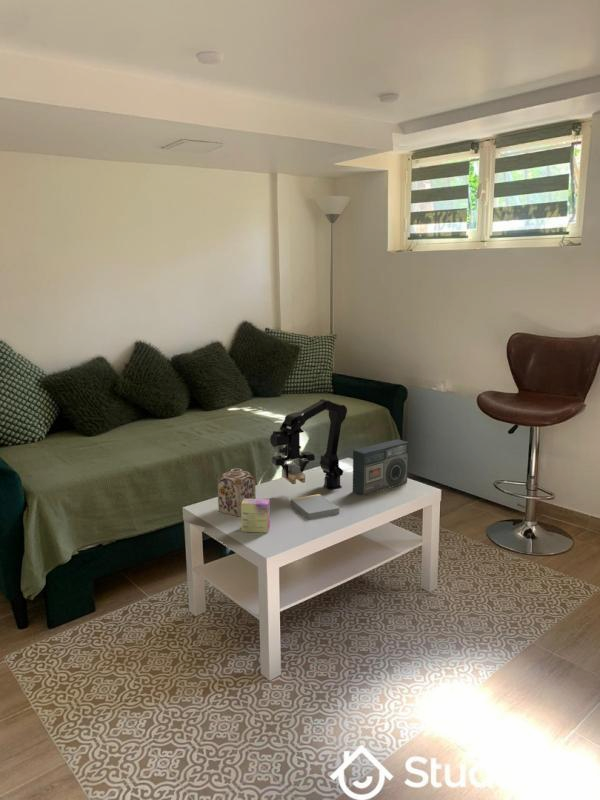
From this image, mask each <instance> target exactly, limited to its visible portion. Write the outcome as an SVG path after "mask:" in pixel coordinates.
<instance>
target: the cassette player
mask: <svg viewBox="0 0 600 800" xmlns="http://www.w3.org/2000/svg"><path fill="white" fill-rule="evenodd" d="M408 466H409V441H406V440H405V441H404V440H401V439H397V438H396V439H392V440H389V441H385V442H380V443H376V444H372V445H369V446H364V447H361V448H357V449H353V450H352V492H353V493H354V492H355V494H357V493H358V495H359V494H360V496H362V495H363V496H362V497H365V496H368V495H371V494H374V492H375V493H378V492H381V491H383V489H384V490H387V489H390V488H389V487H391V488H393V487H392V486H394V487H396V486H395V485H397V486H399V485H398V484H400V485H403V484H402V483H404V484H406V482H407V483H408V468H409V467H408ZM386 488H387V489H386ZM380 490H381V491H380ZM377 491H378V492H377ZM370 493H371V494H370ZM367 494H368V495H367ZM364 495H365V496H364Z"/></svg>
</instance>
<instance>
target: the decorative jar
mask: <svg viewBox="0 0 600 800" xmlns="http://www.w3.org/2000/svg"><path fill="white" fill-rule="evenodd" d="M244 498H245V499H257V497H256V479H255V477H254V476H253V475H252V474H251V473H250V472H249V471H245V470H242V468H231V470H230V471H226V472H225V473H223V474H222V476H221V477H220V478H219V479H218V481H217V504H218V512H220V513H223V514H226V515H231V516H234V517H239V518H241V503H242V501H243V499H244Z"/></svg>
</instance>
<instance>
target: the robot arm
mask: <svg viewBox="0 0 600 800" xmlns="http://www.w3.org/2000/svg"><path fill="white" fill-rule="evenodd" d="M324 411H328V417H329V418H328V419H329V421H330V423H329V424H330V425H329V429H328V431H329V432H328V439H327V444H326V452H325V453H324V455H320V461H319V464H320V468H321V470H322V471H323V473H324V474H325V476H324V484H323V486H324V487H326V488H327V489H329V490H334V489H341V488H342V485H341V476H343V474H344V470H343V469H342V468H340V466H339V465H340V460H339V457H338V447H339V441H340V435H341V430H342V429H341V427H342V423H343V422H344V420H346V416H347V413H348V408H347V407H346V405H344V404H340V403H337V402H332V401H331V400H328V399H325V398H322V399H319V400H318V401H317V402H315V403H314V404H312V405H310V406H308V407H306V408H304V409H303V410H300V411H296V412H291V413H289V414H287V415H285V417H284V420H283V422H282V424H281V426H280V427H279V429H278V430H273V431H272V433H271V435H270V438H269V440H270V441H269V442H270V444H271V446H272V447H273V448H276V447H277V453H278V454H281V455H274V456H272V457H271V463H272V464H274V466H276V467H278V466H280V467H281V469H283V471H284V473H285V476H286V478H288V464H289V463H287V462H292V461H298V465H299V466H300V471H301V472H302V473H303V472H304V470H305V468H306V466H307V464H309V463H310V462H313V461H315V460H316V459H315V458H316V457H315V454H314V453H312V452H311V451H302V453H301V451H300V450H301V449H302V446H301V445H300V444H301V443H300V441H301V438H300V435H301V433H302V434H303V433H304V432H305V431H304V430H303V429H302V428H301V427H303V426H304V425H305V424H306V422H307V421H308V420H311V418H314V417H316V416H317V415H318V414H320V413H322V412H324ZM284 446H285V447H284ZM300 453H301V454H300ZM283 456H285V457H283Z"/></svg>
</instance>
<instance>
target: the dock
mask: <svg viewBox="0 0 600 800" xmlns="http://www.w3.org/2000/svg"><path fill="white" fill-rule="evenodd" d="M290 505H291V506H292V507H293V508H294V509H296V510H297V511H298V512H299V513H301V515H303V516H304V517H305V518H306V519H308V520H312V519H319V518H323V517H328V516H334V515H338V514H340V507H339V506H337V505H336V504H334V503H333V502H331V501H330V500H328V498H326V497H325V496H323V495H322V494H321V493H317V494H312V495H306V496H299V497H296V498H295V497H294V498H290Z"/></svg>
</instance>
